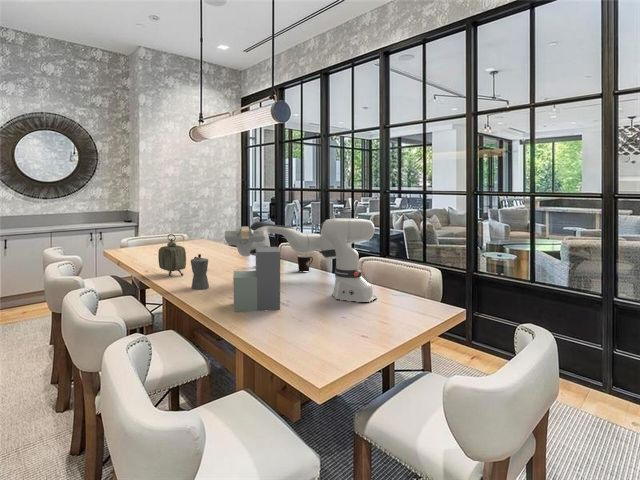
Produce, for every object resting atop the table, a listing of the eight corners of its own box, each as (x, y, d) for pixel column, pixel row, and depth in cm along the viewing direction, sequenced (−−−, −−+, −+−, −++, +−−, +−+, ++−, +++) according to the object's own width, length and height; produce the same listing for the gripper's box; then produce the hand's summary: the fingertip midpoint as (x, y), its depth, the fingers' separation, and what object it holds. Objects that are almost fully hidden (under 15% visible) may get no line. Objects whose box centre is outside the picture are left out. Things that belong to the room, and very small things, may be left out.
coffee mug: (299, 273, 251) (299, 257, 250) (295, 270, 259) (295, 255, 258) (316, 272, 255) (317, 256, 254) (312, 269, 263) (312, 254, 262)
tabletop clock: (186, 276, 238) (185, 234, 234) (173, 278, 230) (172, 235, 227) (170, 272, 245) (169, 232, 242) (157, 275, 238) (156, 233, 234)
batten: (241, 233, 203) (241, 226, 202) (248, 233, 203) (248, 226, 203) (241, 238, 183) (241, 231, 183) (249, 238, 184) (249, 231, 183)
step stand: (234, 302, 186) (233, 247, 182) (277, 300, 190) (277, 246, 186) (233, 311, 172) (233, 252, 169) (280, 309, 176) (280, 251, 173)
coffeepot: (213, 289, 209) (212, 255, 206) (194, 291, 203) (194, 256, 201) (203, 283, 221) (203, 251, 219) (186, 285, 216) (185, 252, 214)
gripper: (265, 245, 212) (266, 235, 200) (225, 246, 208) (224, 235, 196) (264, 234, 215) (265, 224, 202) (225, 235, 211) (224, 224, 198)
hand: (245, 229), depth 199 cm, fingers closed on batten, 3 cm apart
